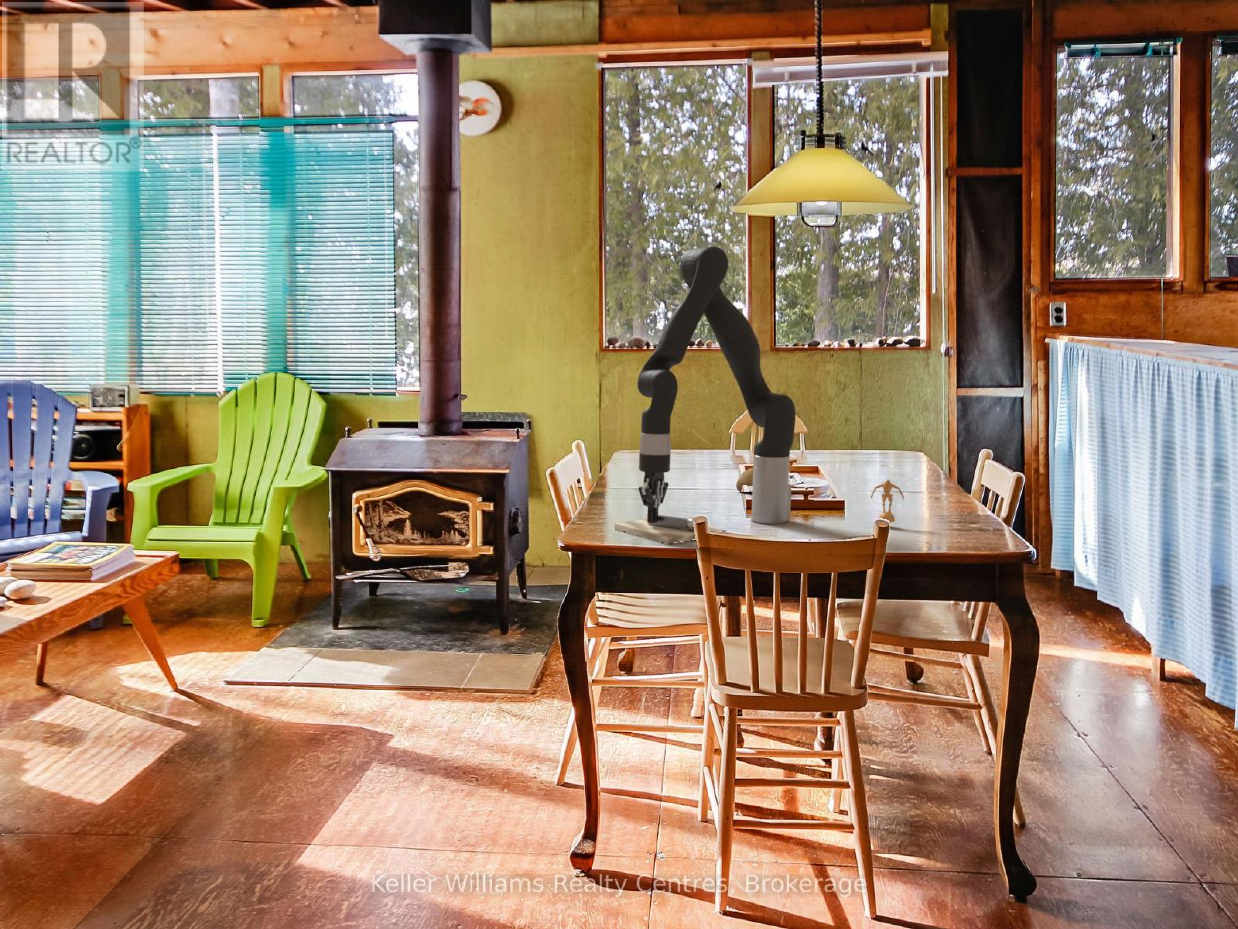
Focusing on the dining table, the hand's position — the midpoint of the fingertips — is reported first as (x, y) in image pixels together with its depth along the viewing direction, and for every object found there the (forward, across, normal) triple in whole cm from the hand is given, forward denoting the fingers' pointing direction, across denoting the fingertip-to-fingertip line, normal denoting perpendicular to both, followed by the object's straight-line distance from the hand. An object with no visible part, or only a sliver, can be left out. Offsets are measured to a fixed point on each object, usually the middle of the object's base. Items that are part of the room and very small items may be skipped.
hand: (652, 522), depth 271 cm
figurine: (+2, +39, -48) cm, 62 cm away
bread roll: (+2, +73, -3) cm, 73 cm away
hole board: (+3, +3, -4) cm, 5 cm away
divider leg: (+1, +2, -5) cm, 5 cm away
